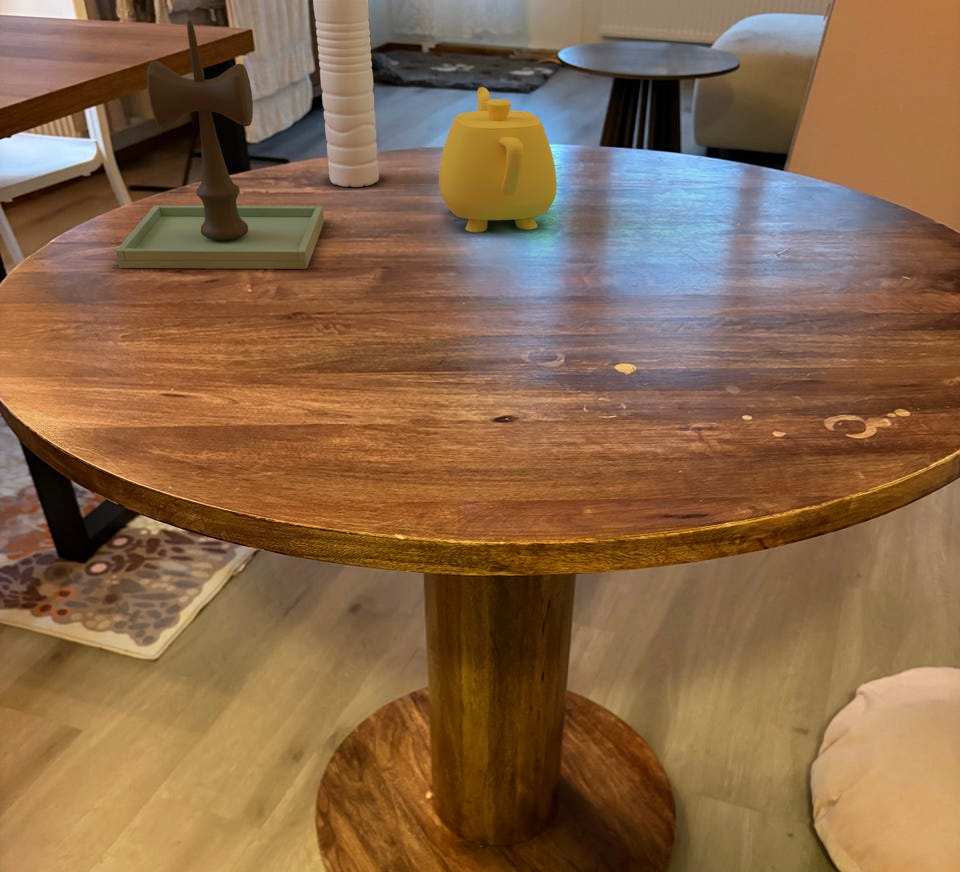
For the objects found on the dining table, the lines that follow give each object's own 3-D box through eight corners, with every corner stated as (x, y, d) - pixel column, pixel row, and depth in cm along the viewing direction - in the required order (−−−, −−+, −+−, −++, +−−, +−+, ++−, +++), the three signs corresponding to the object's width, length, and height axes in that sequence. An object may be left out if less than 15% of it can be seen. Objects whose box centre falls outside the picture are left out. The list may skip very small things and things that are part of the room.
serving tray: (119, 268, 96) (115, 250, 94) (157, 221, 107) (153, 205, 106) (307, 269, 96) (305, 251, 95) (324, 222, 108) (322, 206, 106)
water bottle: (327, 175, 123) (305, -59, 106) (375, 173, 124) (361, -59, 107) (333, 194, 116) (311, -52, 100) (384, 191, 117) (370, -53, 101)
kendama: (187, 228, 103) (145, 15, 90) (272, 227, 104) (244, 15, 90) (176, 245, 99) (130, 24, 85) (265, 245, 99) (234, 24, 86)
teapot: (530, 190, 118) (534, 79, 110) (571, 241, 103) (579, 117, 95) (427, 195, 116) (424, 82, 108) (454, 248, 101) (452, 122, 93)
